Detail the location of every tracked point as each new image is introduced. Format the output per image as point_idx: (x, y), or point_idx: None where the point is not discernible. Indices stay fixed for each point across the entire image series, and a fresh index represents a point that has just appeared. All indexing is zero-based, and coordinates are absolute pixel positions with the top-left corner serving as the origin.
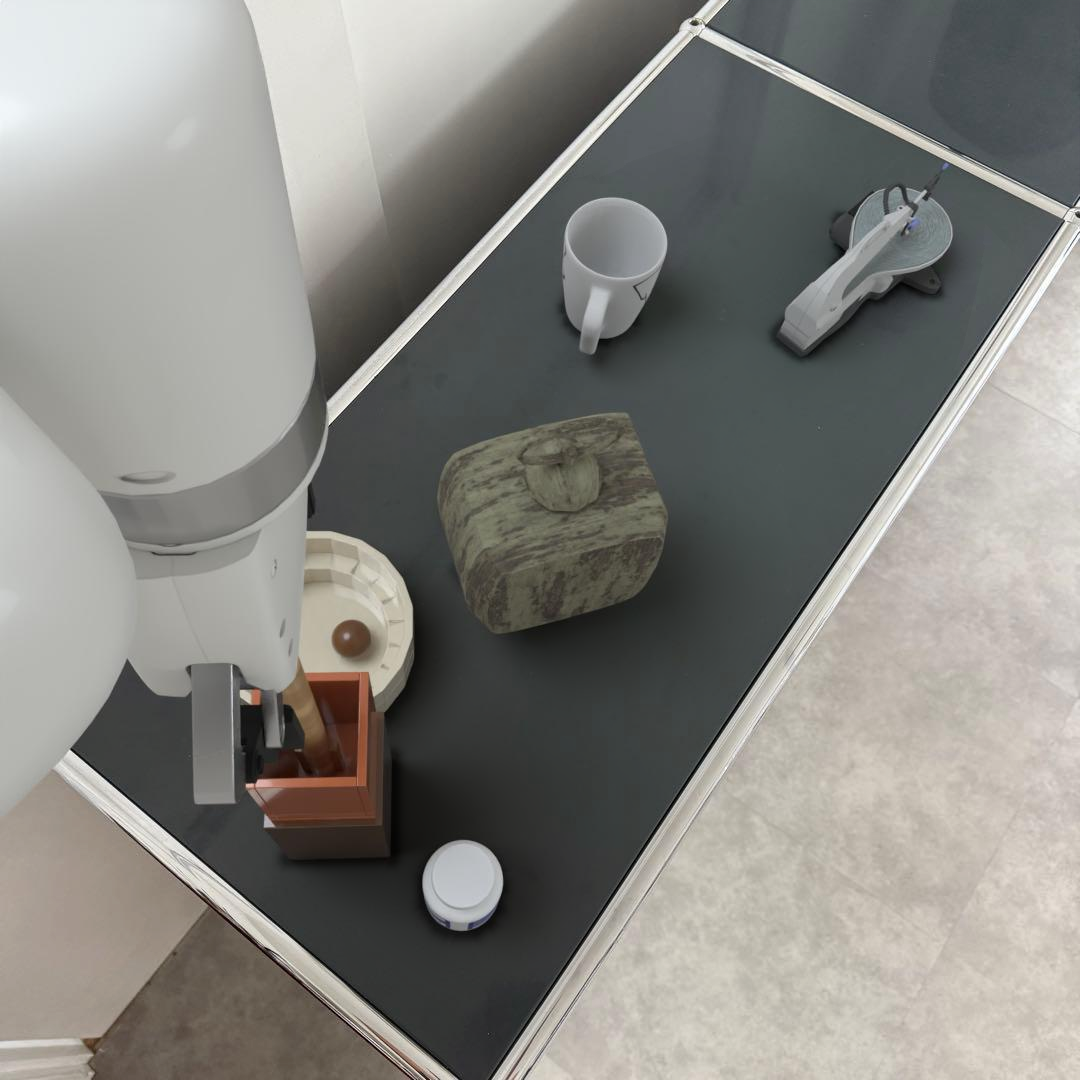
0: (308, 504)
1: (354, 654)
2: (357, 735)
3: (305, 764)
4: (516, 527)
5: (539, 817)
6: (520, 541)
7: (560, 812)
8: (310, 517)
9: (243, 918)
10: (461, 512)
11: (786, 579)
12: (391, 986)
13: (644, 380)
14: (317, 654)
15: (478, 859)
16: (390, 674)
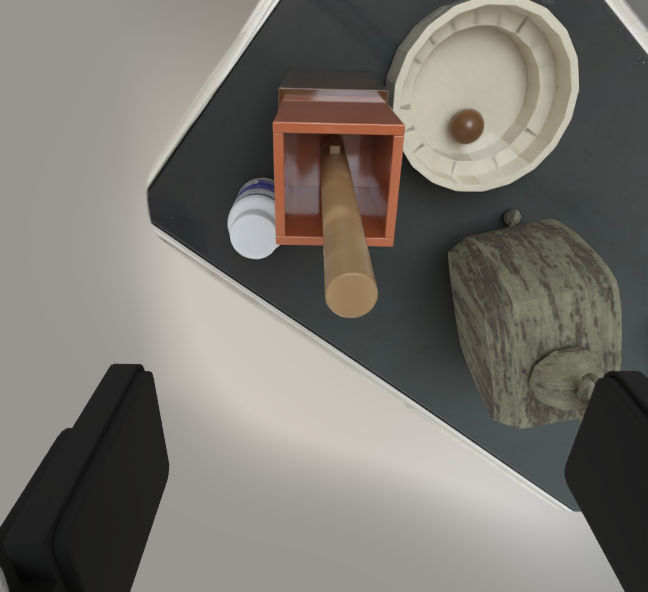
0: (592, 529)
1: (451, 130)
2: (358, 177)
3: (328, 139)
4: (526, 334)
5: (314, 257)
6: (512, 336)
7: (317, 270)
8: (566, 479)
9: (242, 29)
10: (554, 279)
11: (459, 411)
12: (197, 152)
13: (634, 346)
14: (459, 91)
15: (265, 248)
16: (425, 172)
